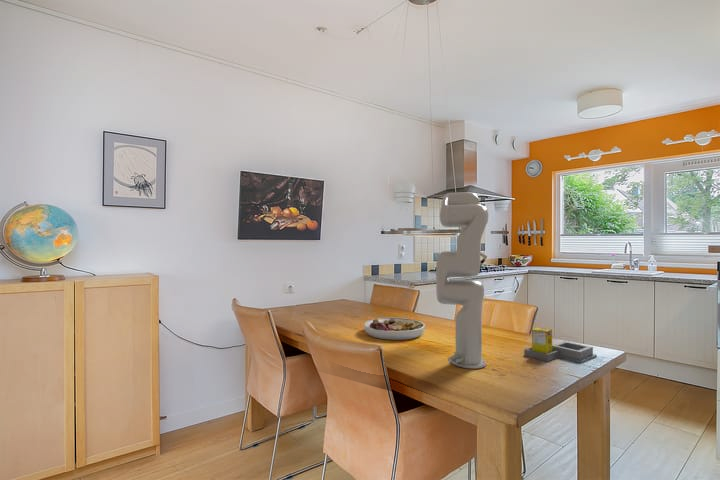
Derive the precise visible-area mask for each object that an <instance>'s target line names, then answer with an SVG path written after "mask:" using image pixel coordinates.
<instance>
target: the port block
mask: <svg viewBox="0 0 720 480" xmlns="http://www.w3.org/2000/svg"><path fill="white" fill-rule="evenodd" d="M552 349H555V350H559V351H560V355H559V357H558V358H560V359H564V360H568V361H571V362H576V363H578V364H579V363H580V364H583V363H585V362H587V361H590V360H593V359H595V358H597V355H598V354H596V353H595V354H594V346H589V345H584V344H580V343H576V342H575V343H574V342H570V341H565V340H564V341H561V342H557V343H555V344H552Z"/></svg>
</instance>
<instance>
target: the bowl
mask: <svg viewBox="0 0 720 480" xmlns="http://www.w3.org/2000/svg"><path fill="white" fill-rule="evenodd" d="M363 327H364V330H365V333H366V334H367V335H368V336H370V337H373V338H376V339H380V340H385V341H386V340H387V341H406V340H412V339H416V338H418V337H420V336H421V335H422V334H423V333H424V332H425V328H426V324H425V323H423V322H422V321H419V320H416V319H412V318H405V317H379V318H373V319H370V320H367V321H365V322H364V324H363Z"/></svg>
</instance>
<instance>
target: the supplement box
mask: <svg viewBox="0 0 720 480" xmlns="http://www.w3.org/2000/svg"><path fill="white" fill-rule="evenodd" d="M552 345H553V329H552V328H546V327H539V326H536V327H533V328H532V329H531V347H532V350H533V351H537V352H541V353H545V354H548V353H551V352H552Z"/></svg>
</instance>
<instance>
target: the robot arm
mask: <svg viewBox="0 0 720 480" xmlns="http://www.w3.org/2000/svg"><path fill="white" fill-rule="evenodd" d="M488 221H489V211H488V208H487V207H486V206H484V205H482V204H480V198H479V196H478V195H477V194H476V193H474V192H470V191H464V192H463V191H460V192H458V191H457V192H447V193H445V194H444V196H443V197H442V200H441V204H440V211H439V222H440V224H441V226H443V227H445V228H460V231H459V232H460V233H459V234H458V235H457V236H456V250H455V251H448V250H447V251H442V252H440V253H438V254H437V258H436V265H435V266H436V267H435V268H436V269H435V270H436V271H435V273H436V276H435V277H436V278H435V280H436V284H435V285H436V287H435V289H436V293H435V294H436V299H437V302H438V303H440V304H441V305H442V304H443V305H455V306H456V305H457V306H458V305H459V306H462V307H461V308H460V309H459V310H458V311H457V313H456V314H455V351H454V352H453V355H451V356H449V357H447V361H448V363H452V365H454V366H457V367H459V368H463V369H469V370H471V369H472V370H473V369H481V368H485V367H486V366H487V361H486V360H485V359H484V358H483V357H482V356H483V353H482V349H483V348H482V344H483V341H482V340H483V339H482V338H483V337H482V335H483V334H482V332H483V329H482V328H483V327H482V323H483V321H482V319H483V317H482V315H483V303H484V298H485V286H484V285H483V283H481V281H478V280H475V279H459V278H472V277H477V276H478V275H479V274H480V273H481V272H482V265H483V264H484V263H485V262H486V260H487V259H488V258H487V257H488V256H487V255H486V254H484V253H482V252H481V243H482V241H481V240H482V236H483V234H484V232H485V229H486V225H487V224H488ZM481 257H482V259H481ZM451 277H452V278H453V277H454V278H455V277H456V278H457V277H458V279H451ZM449 278H450V279H449Z"/></svg>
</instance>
